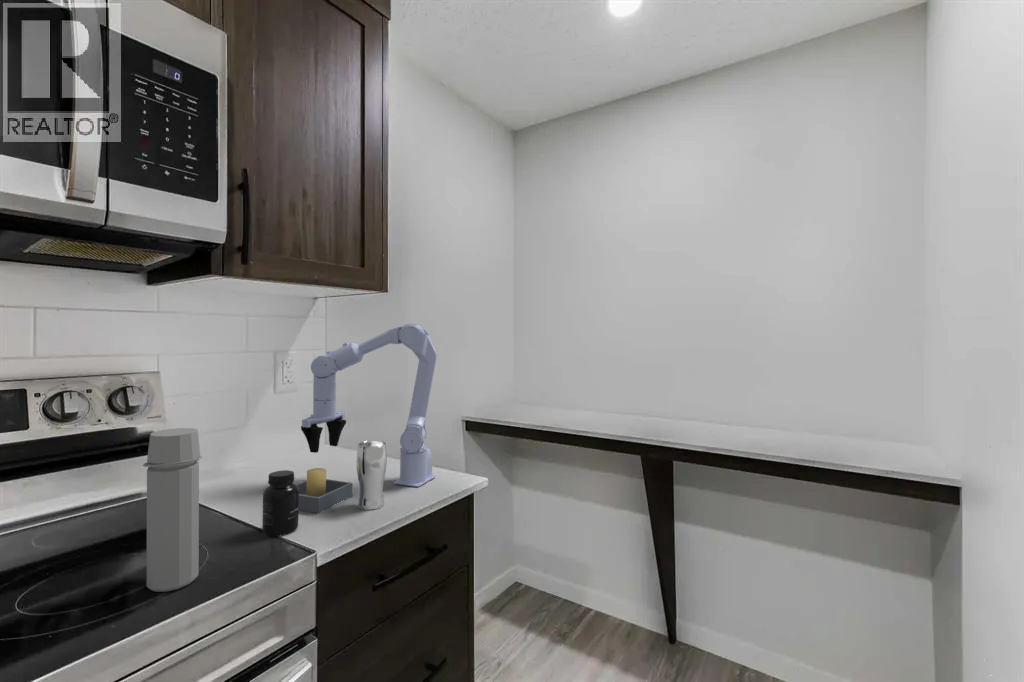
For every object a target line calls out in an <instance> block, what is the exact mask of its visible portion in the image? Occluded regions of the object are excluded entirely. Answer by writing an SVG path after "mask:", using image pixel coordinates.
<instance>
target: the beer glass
mask: <svg viewBox="0 0 1024 682" xmlns="http://www.w3.org/2000/svg"><path fill="white" fill-rule="evenodd" d="M387 457H388V456H387V443H386V441H384V440H374V439H373V440H364V441H360V442H358V443H357V450H356V473H357V479H358V484H359V497H358V502H357V504H358V505H357V507H358V509H360V508H361V509H360V510H363V509H365V510H364V511H373V509H374V510H378V509H381V508H383V507H384V506H385V499H384V491H383V490H384V481H385V476H386V472H387V471H386V470H387V464H388V462H387V461H388V458H387Z"/></svg>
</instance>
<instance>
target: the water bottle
mask: <svg viewBox="0 0 1024 682" xmlns="http://www.w3.org/2000/svg"><path fill="white" fill-rule="evenodd" d="M202 458H203V456H202V455H201V449H200V440H199V430H198V429H197V428H193V427H180V428H179V427H178V428H168V429H167V428H166V429H161V430H157V431H153V432H151V433H150V435H149V442H148V449H147V458H146V459H147V460H146V462H144V463H143V464H142V466H143V467H145V468H147V469H146V588H147V589H149V590H150V591H152V592H154V593H155V592H158V593H159V592H160V593H162V592H164V593H166V592H172V591H175V590H179V589H181V588H185V587H186V586H188V585H190V584H191V583H192V582H193V581H195V580H196V579H197V578H198V576H199V572H200V571H199V570H200V569H199V566H200V565H199V561H200V558H199V554H200V553H199V551H200V550H199V547H200V545H199V544H200V543H199V541H200V540H199V538H200V537H199V536H200V535H199V534H200V533H199V532H200V531H199V530H200V529H199V527H200V526H199V525H200V522H199V521H200V516H199V515H200V505H199V504H200V502H199V501H200V482H199V481H200V460H201V459H202Z"/></svg>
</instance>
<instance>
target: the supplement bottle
mask: <svg viewBox="0 0 1024 682" xmlns="http://www.w3.org/2000/svg"><path fill="white" fill-rule="evenodd" d="M294 482H295V473H294V471H292V470H290V469H289V470H286V469H285V470H276V471H273V472H270V473H269V474H268V480H267V484H268V486H267V487H265V488H264V489H263V492H262V519H261V520H262V523H261V525H262V533H263V534H264V535H266V536H270V537H278V536H279V537H280V535H281V536H285V535H284V534H286V535H289V534H291V533H293V532H295V531H296V530H297V529H298V527H299V512H300V510H299V488H298V486H297V485H296V484H297V483H294ZM288 533H289V534H288Z"/></svg>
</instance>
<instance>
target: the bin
mask: <svg viewBox="0 0 1024 682" xmlns="http://www.w3.org/2000/svg"><path fill="white" fill-rule="evenodd" d="M295 484H296V485H297V486H298V488H299V511H301V510H303V512H308V513H312V512H314V514H318V513H319V514H321V513H323V512H325V511H326V509H327V510H329V509H330V507H331V508H333V507H334V506H333V505H335V504H337V503H339V502H341V501H343V500H345V501H347V500H348V499H347V498H349V499H351V498H352V497H353V482H349V481H340V480H336V479H328V478H326V494H324V495H322V496H320V497H314V496H308V495H306V488H307V479H306V480H303V481H302V482H299V483H295ZM350 497H351V498H350ZM346 499H347V500H346ZM343 502H344V501H343ZM341 503H342V502H341ZM339 504H340V503H339ZM337 505H338V504H337ZM332 506H333V507H332ZM335 506H336V505H335ZM328 508H329V509H328ZM324 510H325V511H324ZM322 511H323V512H322ZM320 512H321V513H320Z"/></svg>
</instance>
